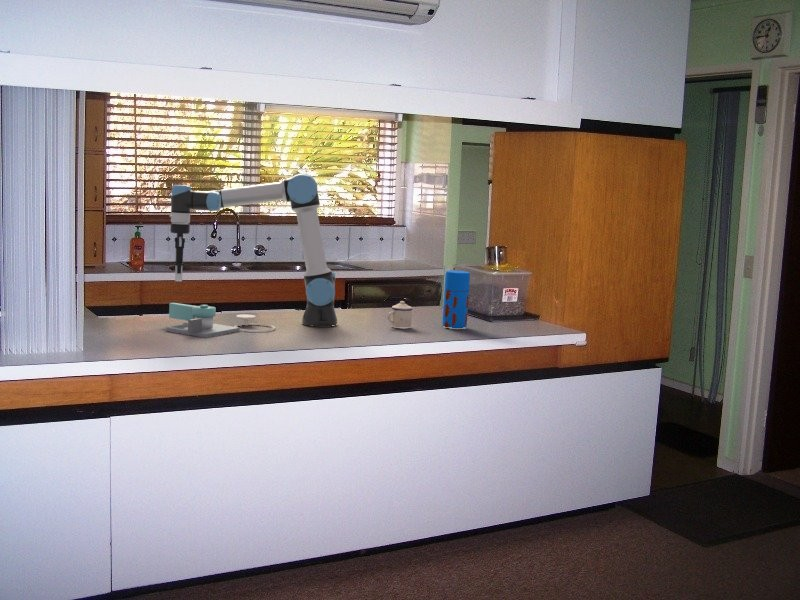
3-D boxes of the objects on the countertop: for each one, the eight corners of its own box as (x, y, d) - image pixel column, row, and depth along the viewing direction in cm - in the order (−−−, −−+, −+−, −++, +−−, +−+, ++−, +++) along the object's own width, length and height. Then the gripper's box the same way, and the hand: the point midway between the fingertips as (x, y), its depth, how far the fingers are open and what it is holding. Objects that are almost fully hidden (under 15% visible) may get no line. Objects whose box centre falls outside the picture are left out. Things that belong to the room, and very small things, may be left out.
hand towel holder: (245, 323, 339) (222, 315, 356) (245, 334, 340) (222, 325, 356) (283, 321, 350) (259, 313, 366) (283, 331, 350) (259, 323, 366)
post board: (239, 331, 344) (240, 315, 343) (200, 338, 324) (201, 321, 323) (201, 325, 353) (201, 309, 352) (160, 332, 333) (161, 315, 332)
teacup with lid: (403, 325, 381) (404, 299, 379) (415, 328, 373) (417, 302, 372) (381, 326, 373) (382, 300, 372) (393, 330, 366) (394, 303, 365)
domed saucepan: (220, 322, 341) (220, 305, 340) (204, 325, 333) (205, 307, 332) (179, 316, 351) (179, 299, 350) (163, 318, 343) (163, 301, 342)
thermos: (456, 325, 389) (459, 270, 386) (471, 329, 380) (475, 273, 377) (437, 326, 383) (440, 270, 380) (451, 330, 374) (455, 273, 371)
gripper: (170, 221, 353) (168, 278, 356) (171, 223, 341) (169, 282, 344) (188, 222, 355) (187, 279, 358) (190, 224, 343) (188, 283, 346)
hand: (178, 281), depth 351 cm, fingers closed
